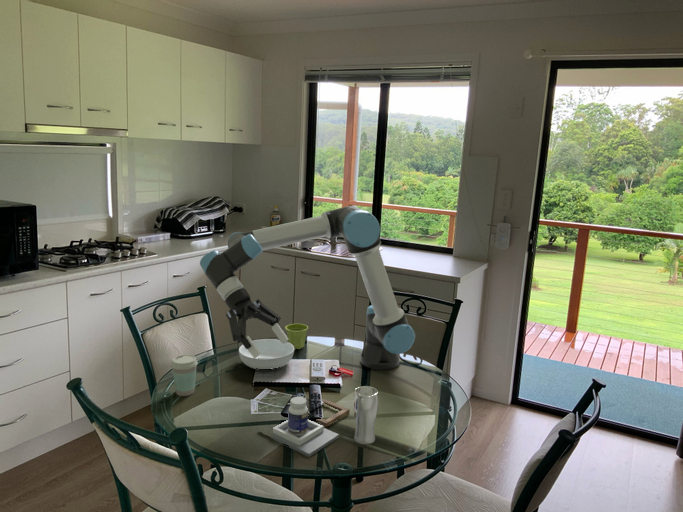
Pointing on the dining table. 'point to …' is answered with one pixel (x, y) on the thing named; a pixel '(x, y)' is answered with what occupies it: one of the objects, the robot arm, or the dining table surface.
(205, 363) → the dining table surface
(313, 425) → the dock
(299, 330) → the plant pot
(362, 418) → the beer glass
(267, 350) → the serving bowl
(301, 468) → the dining table surface
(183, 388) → the coffee cup
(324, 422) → the wooden picture frame
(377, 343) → the robot arm
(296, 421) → the pill bottle
